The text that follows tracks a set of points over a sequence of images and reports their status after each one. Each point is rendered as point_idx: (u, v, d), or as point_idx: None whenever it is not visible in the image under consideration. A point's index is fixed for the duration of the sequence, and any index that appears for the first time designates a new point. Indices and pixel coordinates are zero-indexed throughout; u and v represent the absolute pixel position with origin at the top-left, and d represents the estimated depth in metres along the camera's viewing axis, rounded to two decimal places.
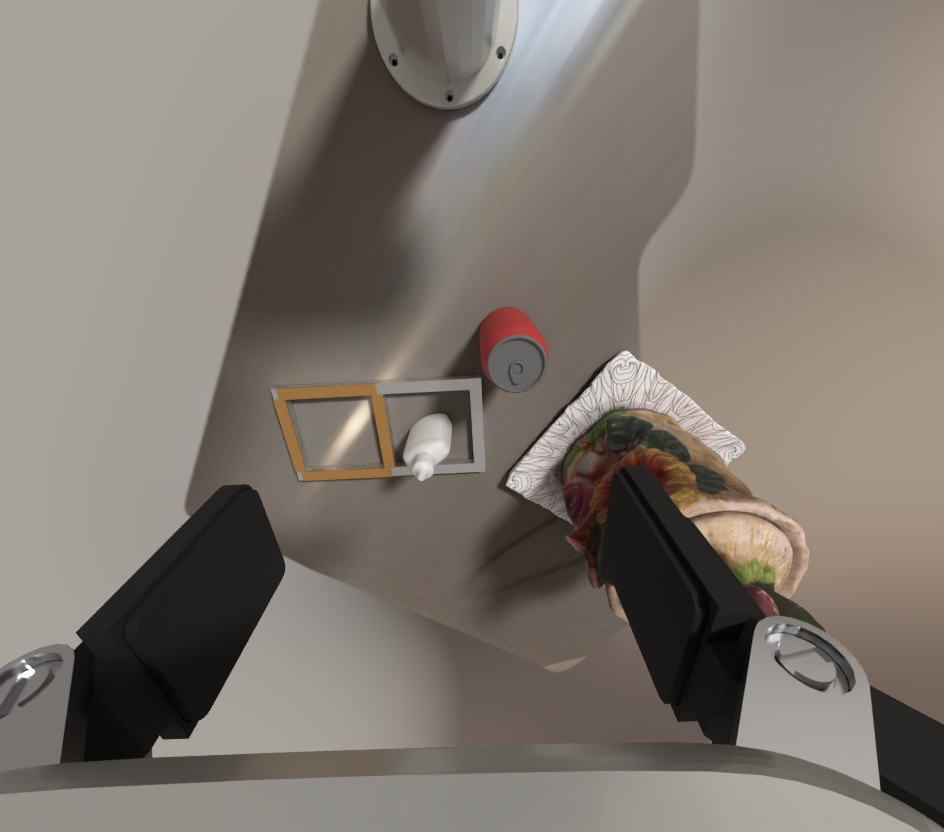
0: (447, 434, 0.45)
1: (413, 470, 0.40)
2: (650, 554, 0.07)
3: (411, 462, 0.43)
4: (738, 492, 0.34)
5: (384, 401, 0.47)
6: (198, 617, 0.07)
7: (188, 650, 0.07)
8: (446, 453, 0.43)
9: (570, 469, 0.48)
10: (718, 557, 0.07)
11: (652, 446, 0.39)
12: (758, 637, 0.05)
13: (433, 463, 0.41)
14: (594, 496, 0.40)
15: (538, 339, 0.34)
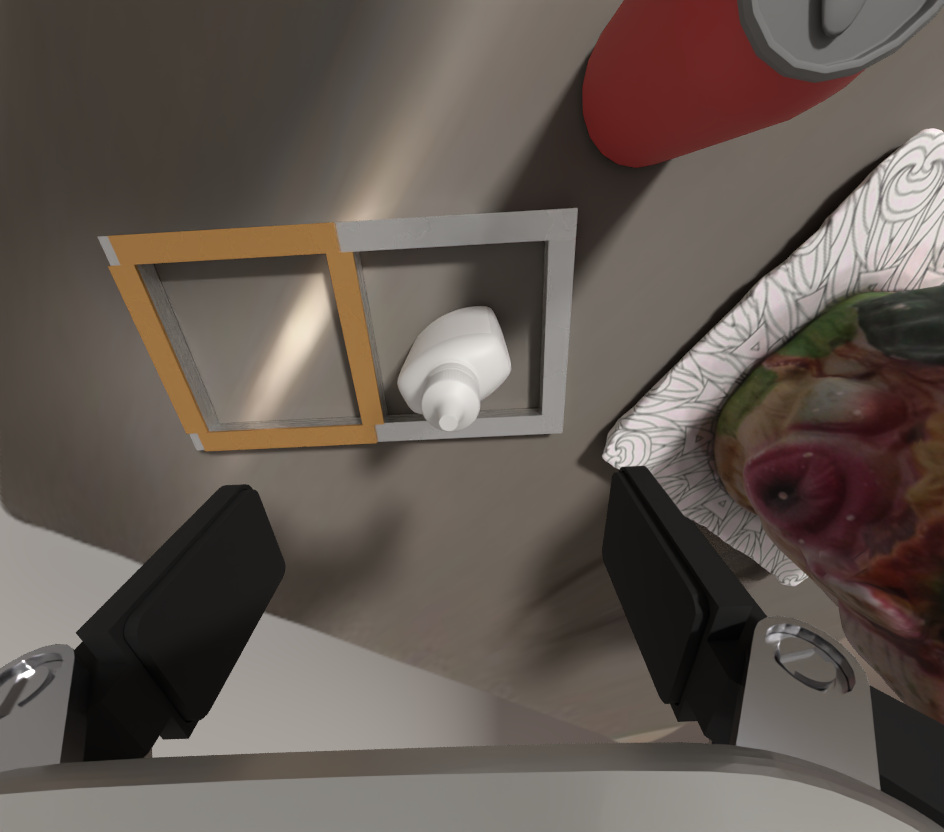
0: (501, 335, 0.19)
1: (425, 405, 0.15)
2: (650, 554, 0.07)
3: (418, 394, 0.17)
4: None
5: (356, 270, 0.21)
6: (198, 617, 0.07)
7: (188, 650, 0.07)
8: (505, 371, 0.17)
9: (757, 421, 0.23)
10: (718, 557, 0.07)
11: None
12: (758, 637, 0.05)
13: (477, 390, 0.15)
14: (938, 473, 0.14)
15: None
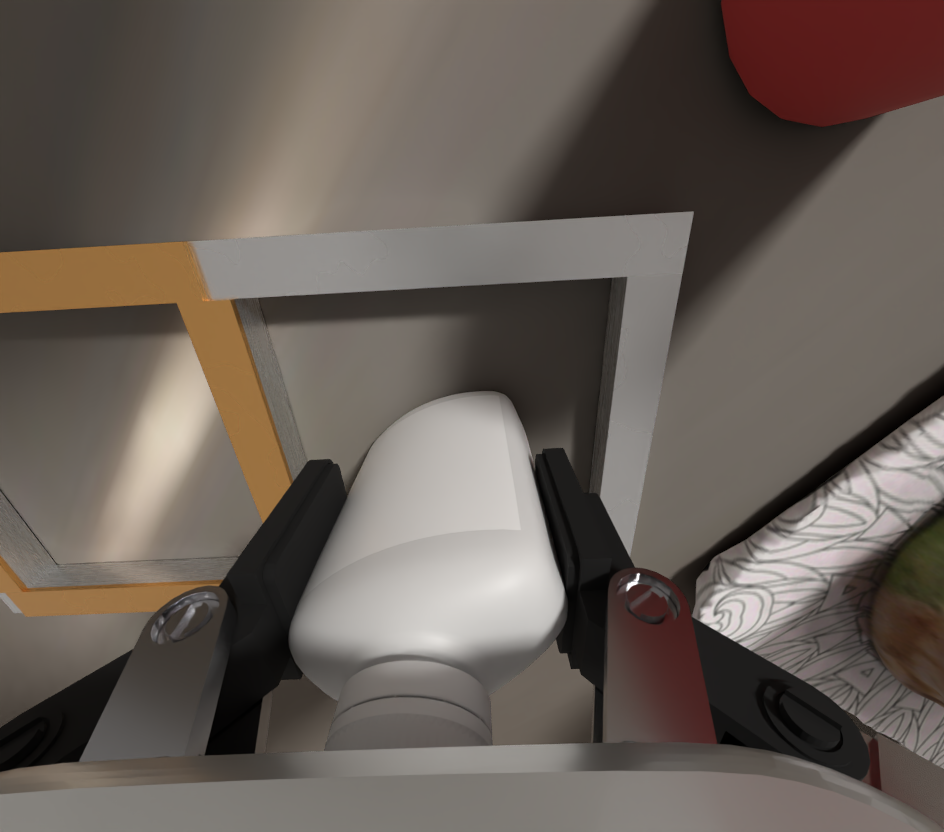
0: (536, 489, 0.09)
1: None
2: (551, 523, 0.08)
3: (332, 687, 0.07)
4: None
5: (245, 333, 0.11)
6: (307, 571, 0.08)
7: None
8: (558, 630, 0.07)
9: None
10: (612, 526, 0.08)
11: None
12: (612, 583, 0.06)
13: None
14: None
15: None
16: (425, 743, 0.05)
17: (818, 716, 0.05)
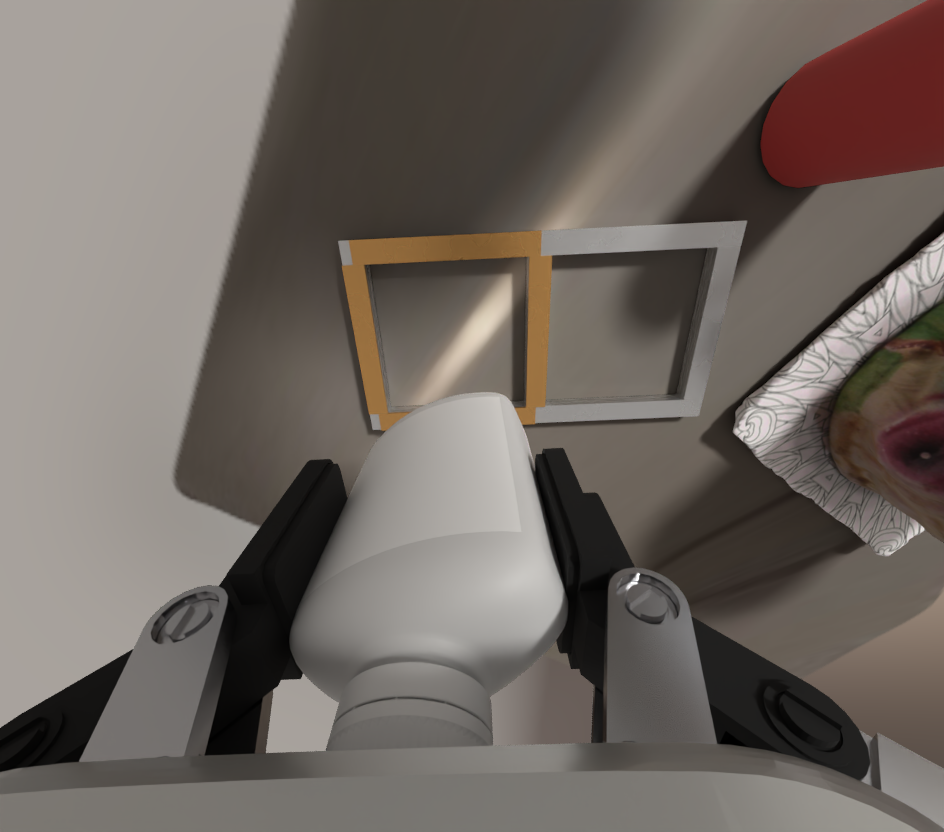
0: (536, 490, 0.09)
1: None
2: (551, 523, 0.08)
3: (333, 689, 0.07)
4: None
5: (550, 271, 0.25)
6: (307, 571, 0.08)
7: None
8: (558, 631, 0.07)
9: (886, 395, 0.26)
10: (612, 526, 0.08)
11: None
12: (612, 584, 0.06)
13: None
14: None
15: None
16: (426, 745, 0.05)
17: (818, 716, 0.05)
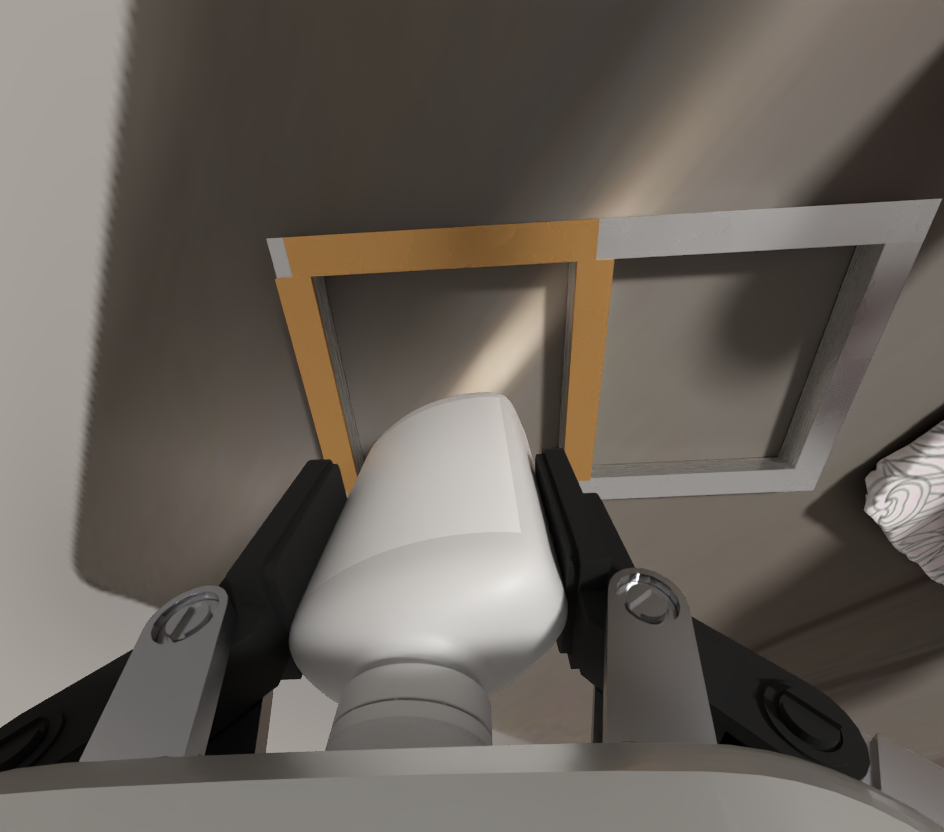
0: (536, 491, 0.09)
1: None
2: (551, 523, 0.08)
3: (332, 689, 0.07)
4: None
5: (610, 284, 0.16)
6: (307, 572, 0.08)
7: None
8: (558, 632, 0.07)
9: None
10: (612, 525, 0.08)
11: None
12: (612, 584, 0.06)
13: None
14: None
15: None
16: (426, 746, 0.05)
17: (818, 716, 0.05)
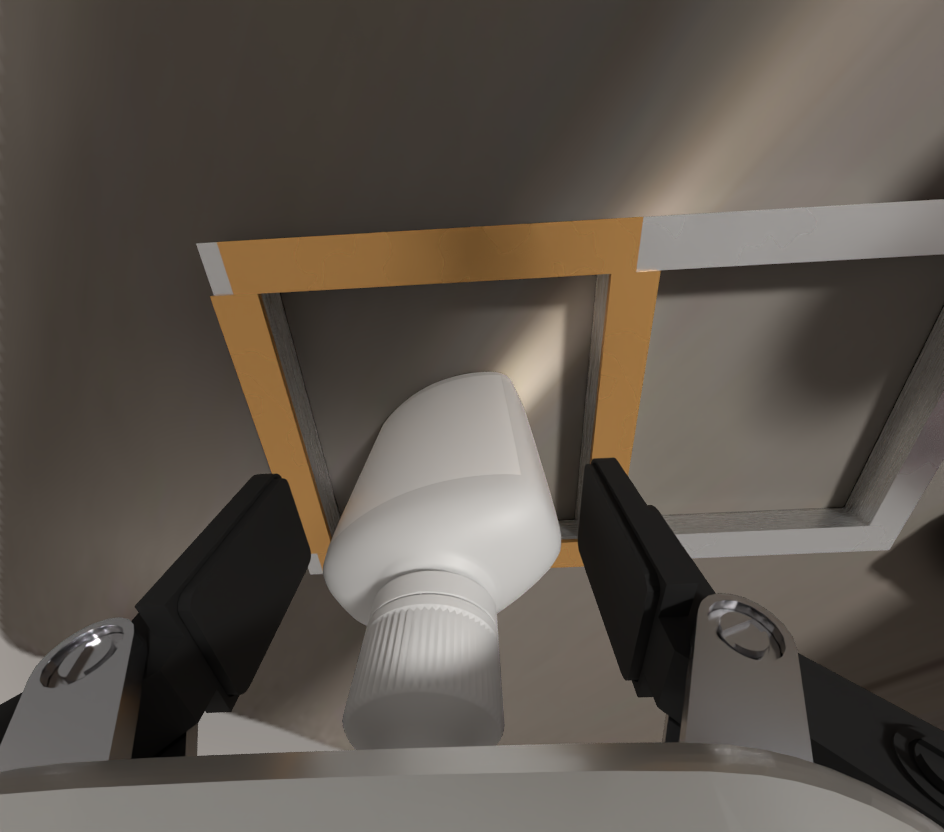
0: (534, 450, 0.10)
1: (353, 738, 0.05)
2: (613, 539, 0.08)
3: (362, 608, 0.08)
4: None
5: (652, 302, 0.12)
6: (239, 597, 0.08)
7: (231, 627, 0.07)
8: (552, 558, 0.08)
9: None
10: (678, 542, 0.08)
11: None
12: (702, 612, 0.06)
13: (495, 657, 0.06)
14: None
15: None
16: (446, 623, 0.06)
17: None
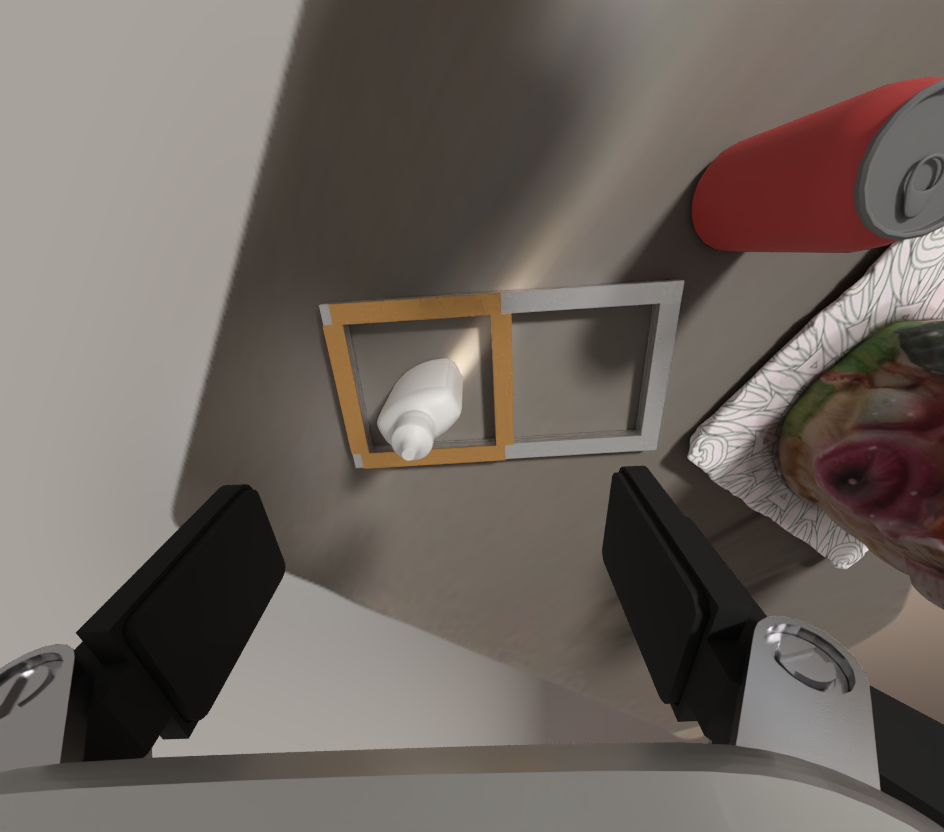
0: (456, 385, 0.26)
1: (393, 442, 0.21)
2: (650, 554, 0.07)
3: (392, 432, 0.23)
4: None
5: (511, 326, 0.28)
6: (198, 617, 0.07)
7: (188, 650, 0.07)
8: (456, 414, 0.23)
9: (821, 424, 0.28)
10: (718, 557, 0.07)
11: None
12: (758, 637, 0.05)
13: (432, 429, 0.22)
14: None
15: None
16: (418, 417, 0.21)
17: None
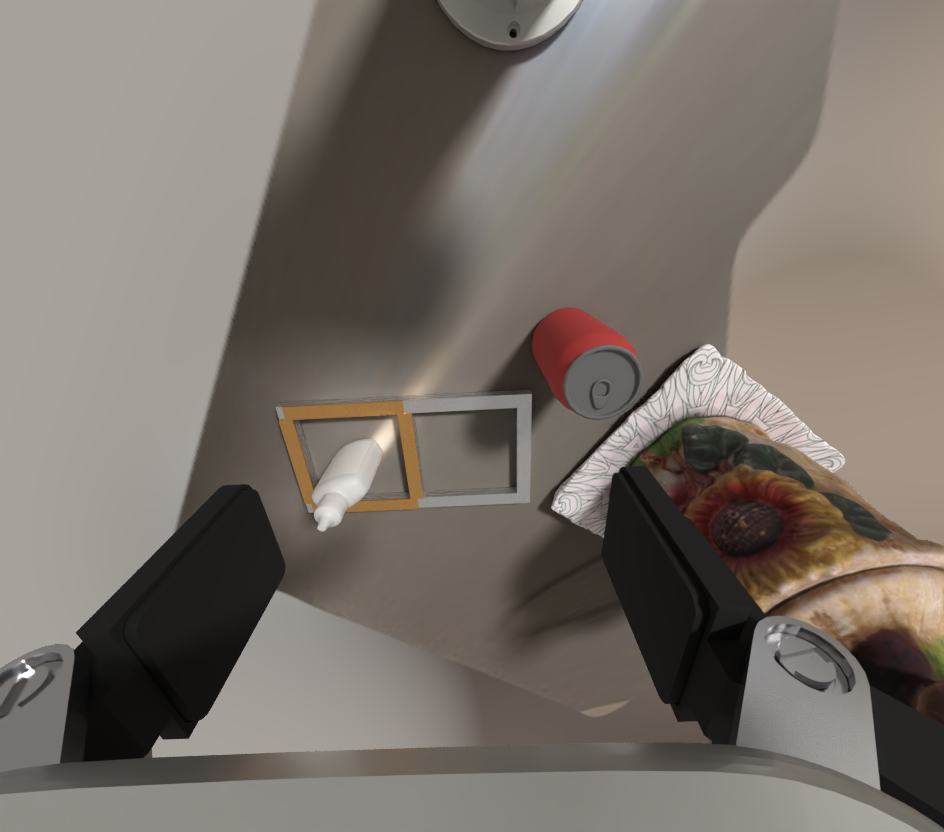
0: (369, 467, 0.37)
1: (315, 517, 0.32)
2: (650, 554, 0.07)
3: None
4: (895, 532, 0.25)
5: (413, 421, 0.39)
6: (198, 617, 0.07)
7: (188, 650, 0.07)
8: (363, 492, 0.35)
9: None
10: (718, 557, 0.07)
11: (760, 467, 0.30)
12: (758, 637, 0.05)
13: (342, 507, 0.33)
14: None
15: (631, 351, 0.26)
16: (332, 499, 0.33)
17: None
